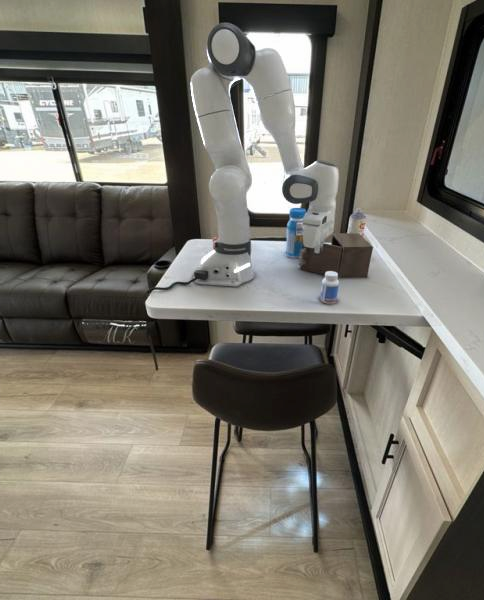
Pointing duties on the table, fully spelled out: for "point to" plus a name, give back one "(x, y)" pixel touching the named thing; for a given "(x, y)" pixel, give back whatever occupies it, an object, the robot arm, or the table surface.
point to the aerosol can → (357, 222)
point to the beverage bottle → (295, 232)
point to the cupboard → (353, 255)
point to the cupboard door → (320, 259)
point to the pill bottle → (329, 287)
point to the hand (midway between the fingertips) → (318, 251)
